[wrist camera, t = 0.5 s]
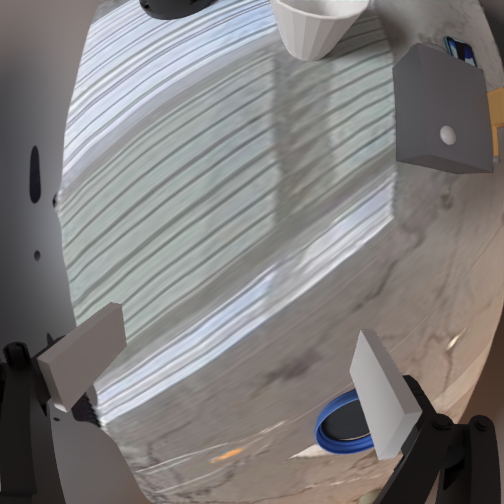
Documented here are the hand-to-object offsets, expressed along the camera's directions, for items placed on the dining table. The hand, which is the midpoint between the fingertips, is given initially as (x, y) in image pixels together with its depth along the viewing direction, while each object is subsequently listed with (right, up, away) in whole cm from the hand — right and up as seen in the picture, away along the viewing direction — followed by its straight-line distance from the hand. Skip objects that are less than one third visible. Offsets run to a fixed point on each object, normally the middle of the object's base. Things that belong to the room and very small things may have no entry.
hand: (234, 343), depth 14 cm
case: (+29, +27, +20) cm, 44 cm away
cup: (+9, +37, +20) cm, 43 cm away
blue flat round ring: (+22, -29, +33) cm, 49 cm away
